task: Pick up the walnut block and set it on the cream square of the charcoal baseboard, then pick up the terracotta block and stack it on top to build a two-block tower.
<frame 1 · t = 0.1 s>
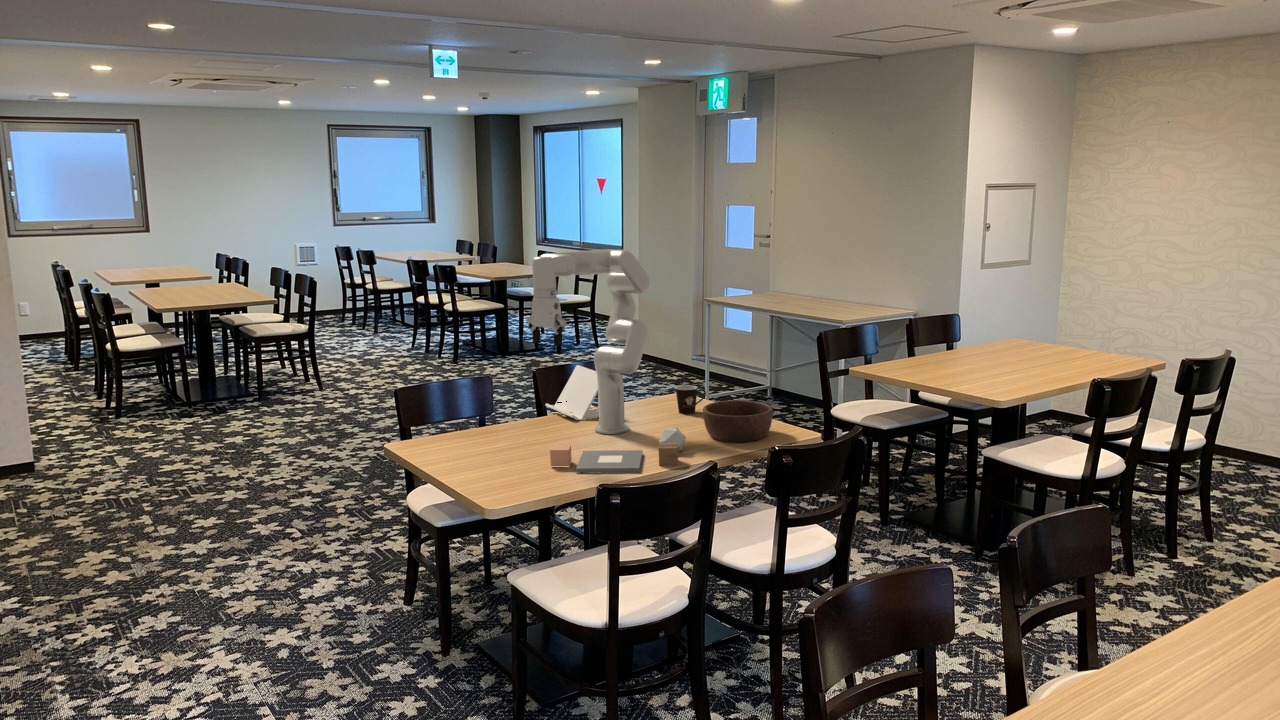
hand: (547, 344, 317), 37 cm above the table, tool pointing down, fingers open, 9 cm apart
terracotta block: (561, 465, 308), on the table
coffee mug: (690, 412, 373), on the table
tablet stand: (578, 413, 378), on the table
walnut block: (668, 463, 307), on the table
die: (672, 451, 321), on the table
baseboard: (610, 463, 308), on the table
wooden bowl: (738, 436, 338), on the table
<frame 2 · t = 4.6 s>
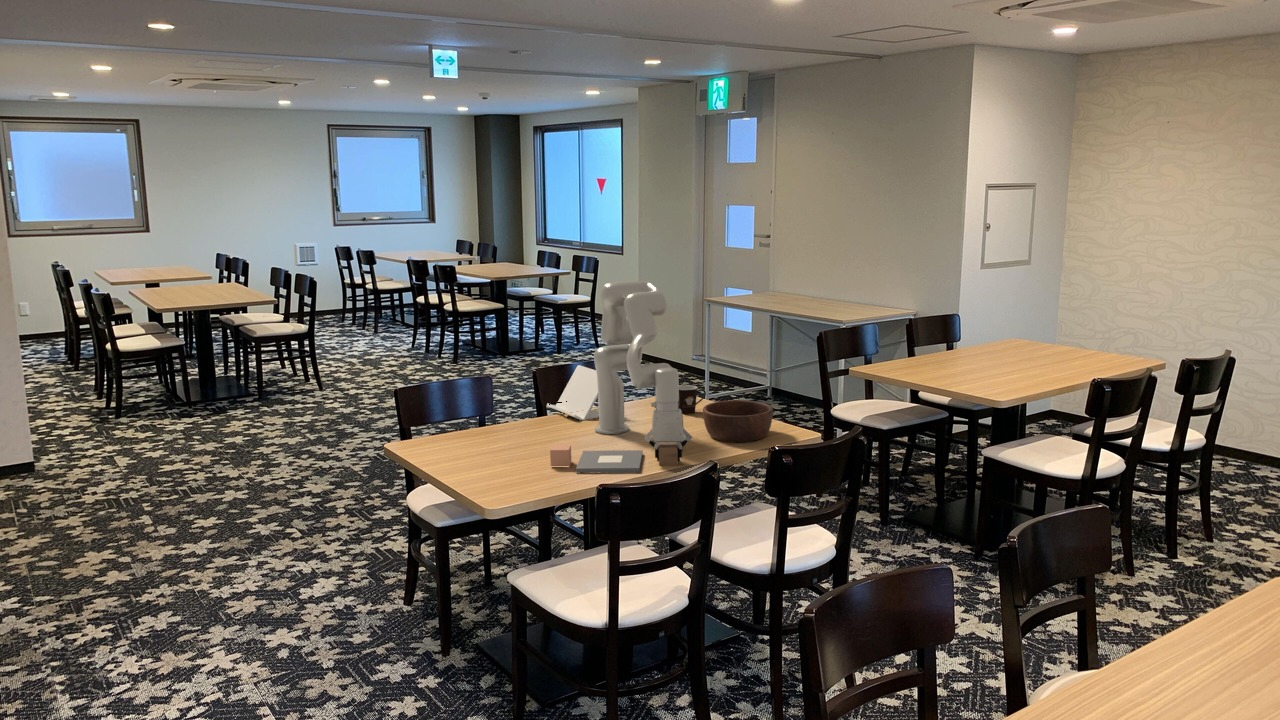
hand: (668, 459, 307), 1 cm above the table, tool pointing down, fingers closed on walnut block, 6 cm apart
walnut block: (668, 463, 307), on the table, touching gripper
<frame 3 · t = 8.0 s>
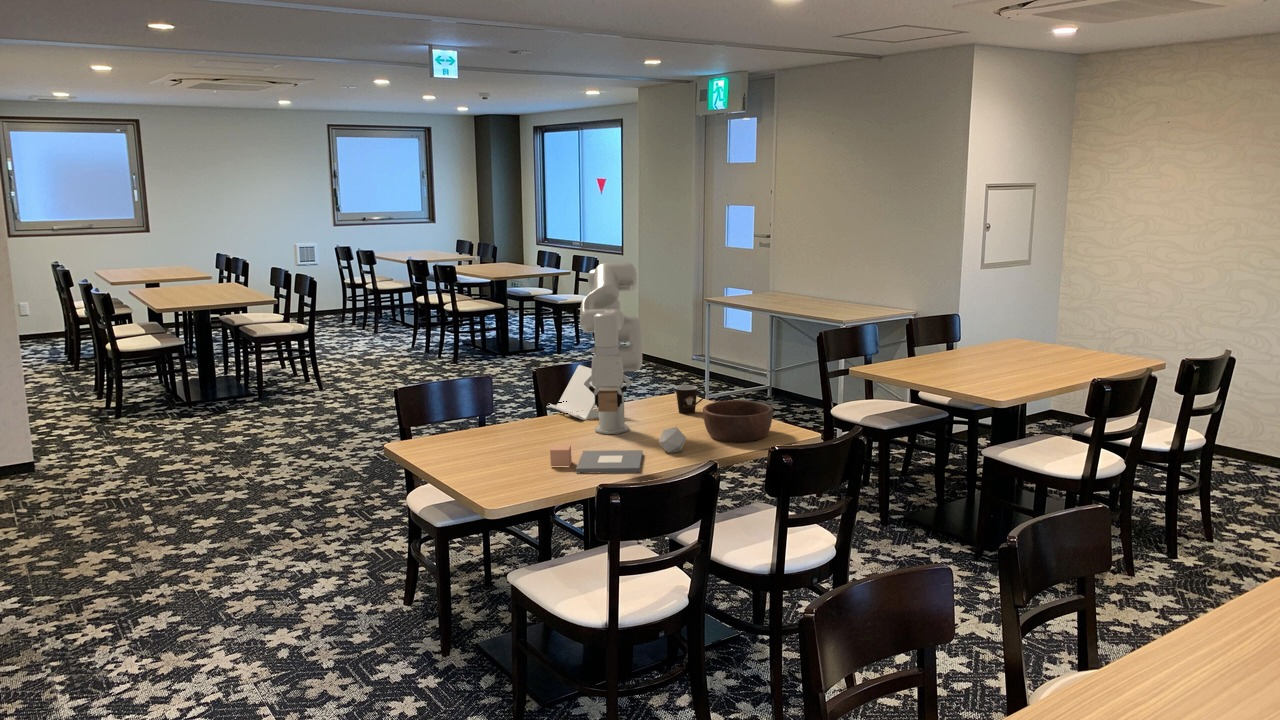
hand: (608, 405, 304), 19 cm above the table, tool pointing down, fingers closed on walnut block, 6 cm apart
walnut block: (608, 409, 305), point 18 cm above the table, touching gripper
when the fingers open (4 cm above the table, at t = 11.3 s): walnut block drops 1 cm, resting on baseboard.
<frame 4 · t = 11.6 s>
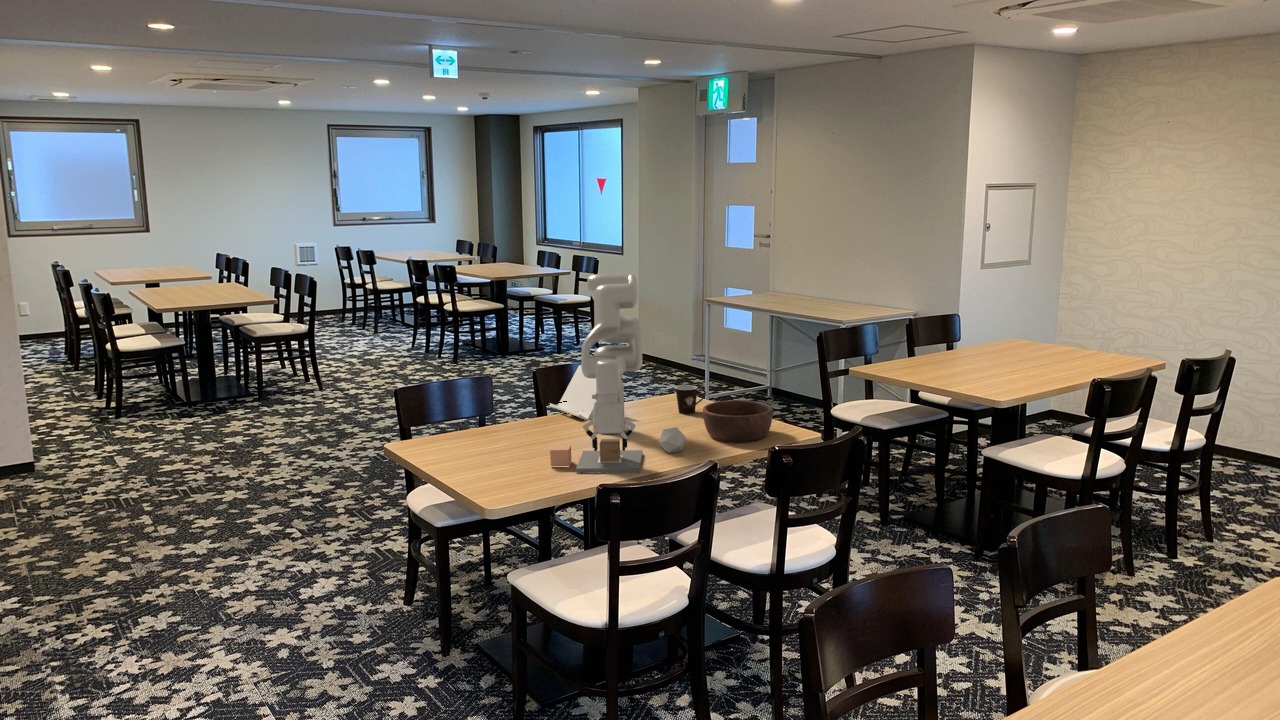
hand: (609, 449, 307), 5 cm above the table, tool pointing down, fingers open, 8 cm apart
walnut block: (610, 458, 308), point 2 cm above the table, touching baseboard
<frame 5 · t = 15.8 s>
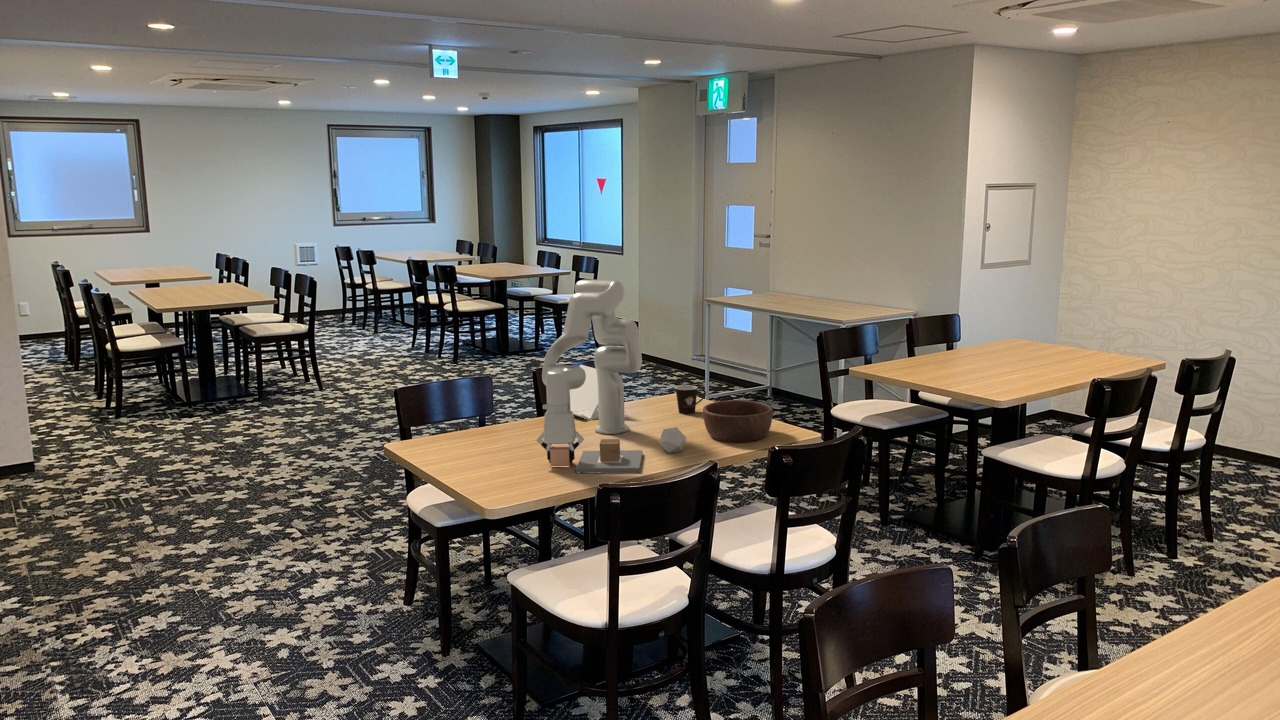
hand: (561, 461, 308), 1 cm above the table, tool pointing down, fingers closed on terracotta block, 6 cm apart
terracotta block: (561, 465, 308), on the table, touching gripper
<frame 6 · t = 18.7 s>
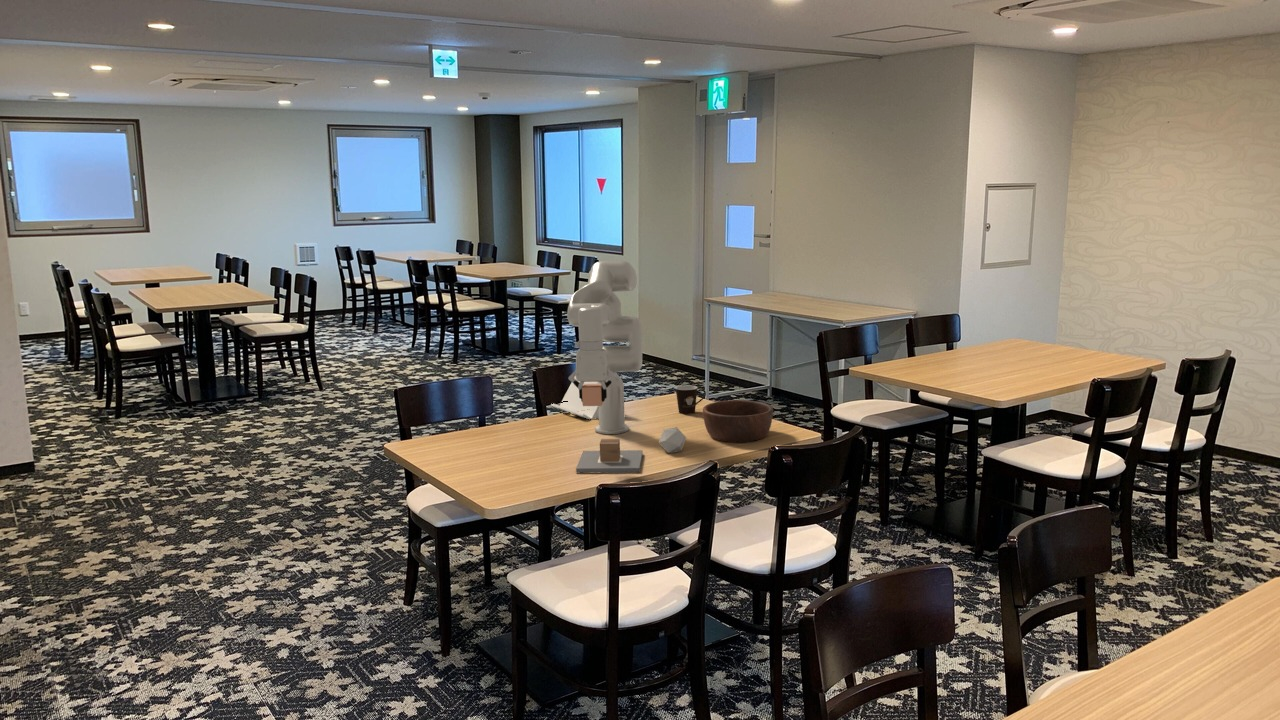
hand: (593, 400, 304), 21 cm above the table, tool pointing down, fingers closed on terracotta block, 6 cm apart
terracotta block: (593, 403, 304), point 20 cm above the table, touching gripper
when the fingers open (10 cm above the table, at t = 21.7 s): terracotta block drops 1 cm, resting on walnut block.
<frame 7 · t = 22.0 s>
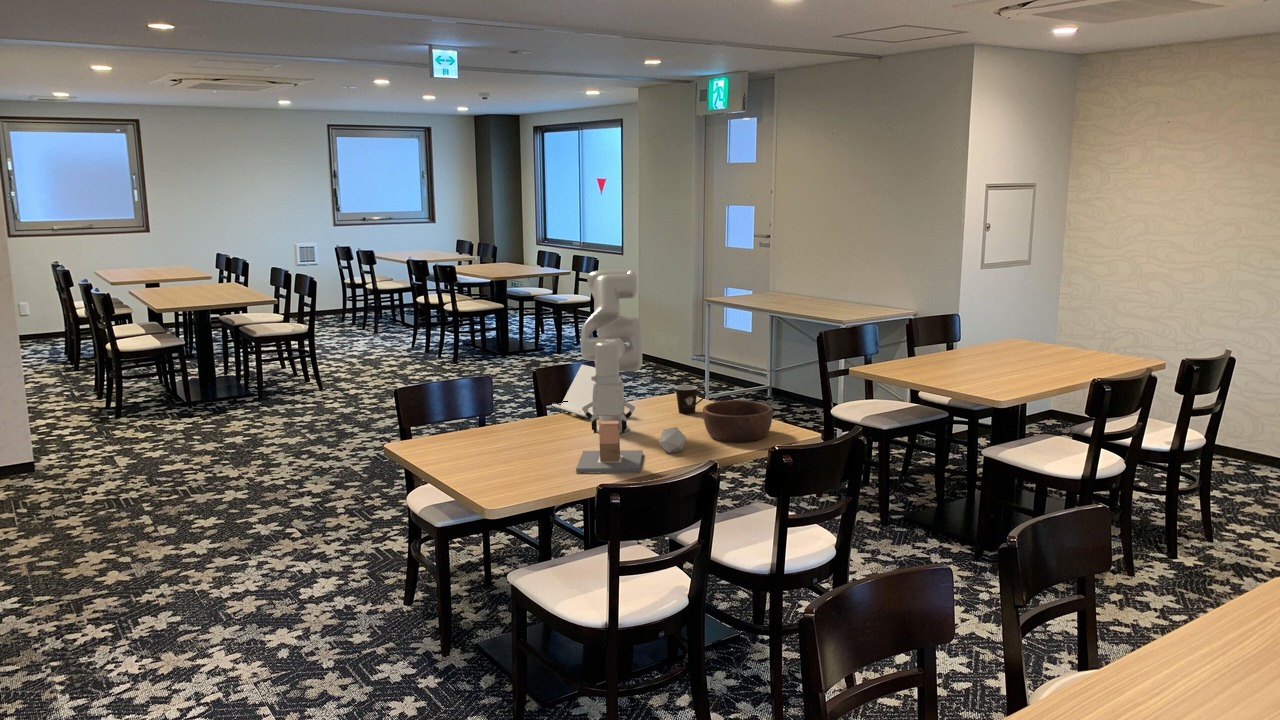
hand: (609, 431, 306), 11 cm above the table, tool pointing down, fingers open, 8 cm apart
terracotta block: (609, 441, 307), point 8 cm above the table, touching walnut block
walnut block: (610, 458, 308), point 2 cm above the table, touching baseboard, terracotta block
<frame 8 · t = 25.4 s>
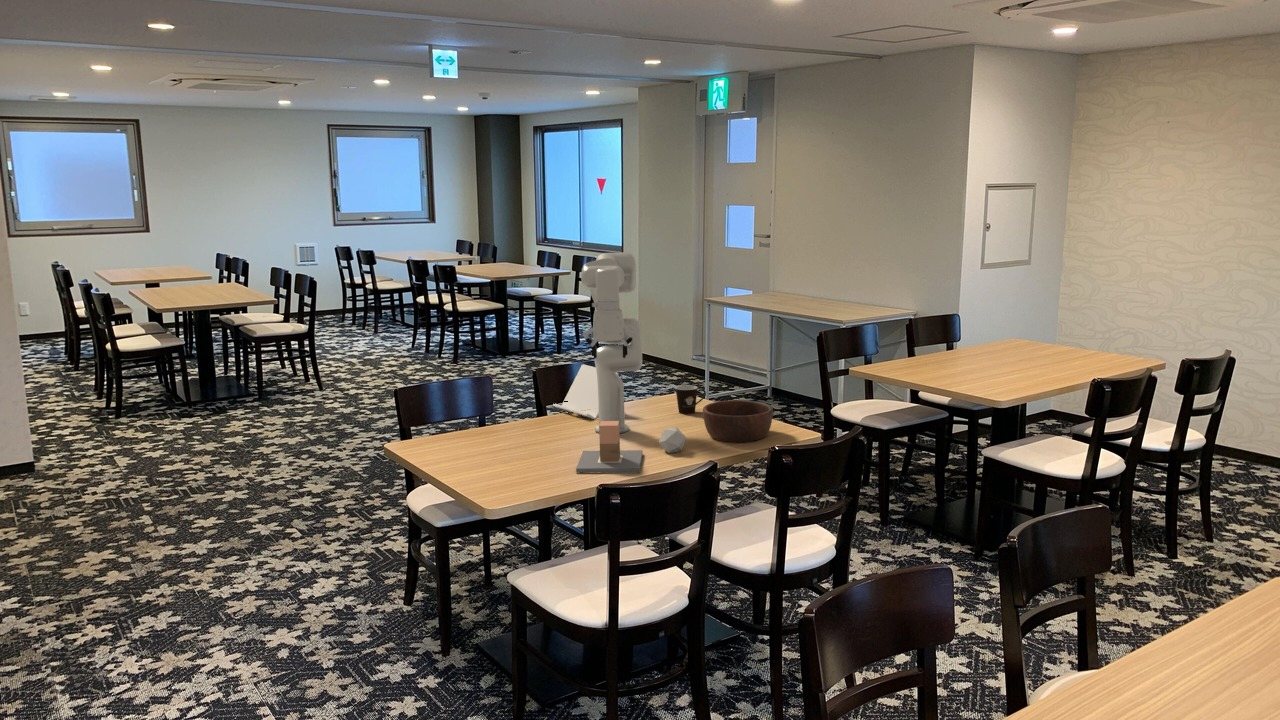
hand: (609, 357, 312), 33 cm above the table, tool pointing down, fingers open, 9 cm apart
at the end: walnut block 0.0 cm off-centre on the baseboard, point 1.5 cm above the baseboard's base; terracotta block 0.0 cm off-centre on the walnut block, point 6.0 cm above the walnut block's base; terracotta block tilted 0° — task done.
